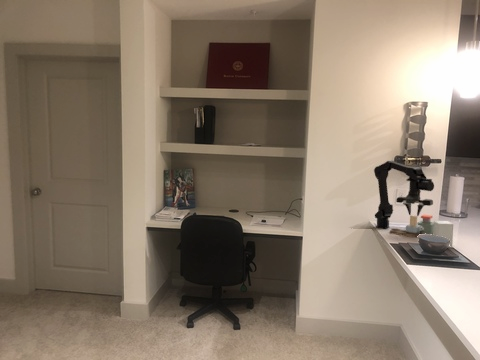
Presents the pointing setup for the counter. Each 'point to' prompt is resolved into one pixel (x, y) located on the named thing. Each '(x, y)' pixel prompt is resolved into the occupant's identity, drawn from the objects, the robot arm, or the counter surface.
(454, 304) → the counter surface
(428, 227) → the green jar
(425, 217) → the button
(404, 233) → the rail bed
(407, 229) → the blue and cream block
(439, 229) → the supplement box
